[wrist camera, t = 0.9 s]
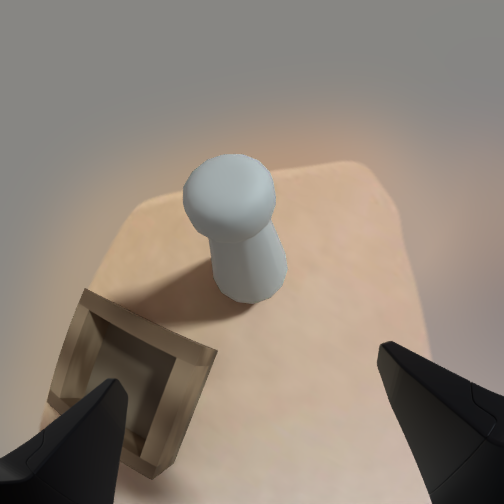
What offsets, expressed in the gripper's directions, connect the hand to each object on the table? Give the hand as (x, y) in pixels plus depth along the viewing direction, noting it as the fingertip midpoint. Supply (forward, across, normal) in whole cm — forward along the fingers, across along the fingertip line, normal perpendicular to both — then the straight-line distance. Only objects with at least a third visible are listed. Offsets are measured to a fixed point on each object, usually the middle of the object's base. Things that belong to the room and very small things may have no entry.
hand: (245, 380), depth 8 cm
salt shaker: (+15, 0, +4) cm, 16 cm away
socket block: (+10, +11, +9) cm, 17 cm away
